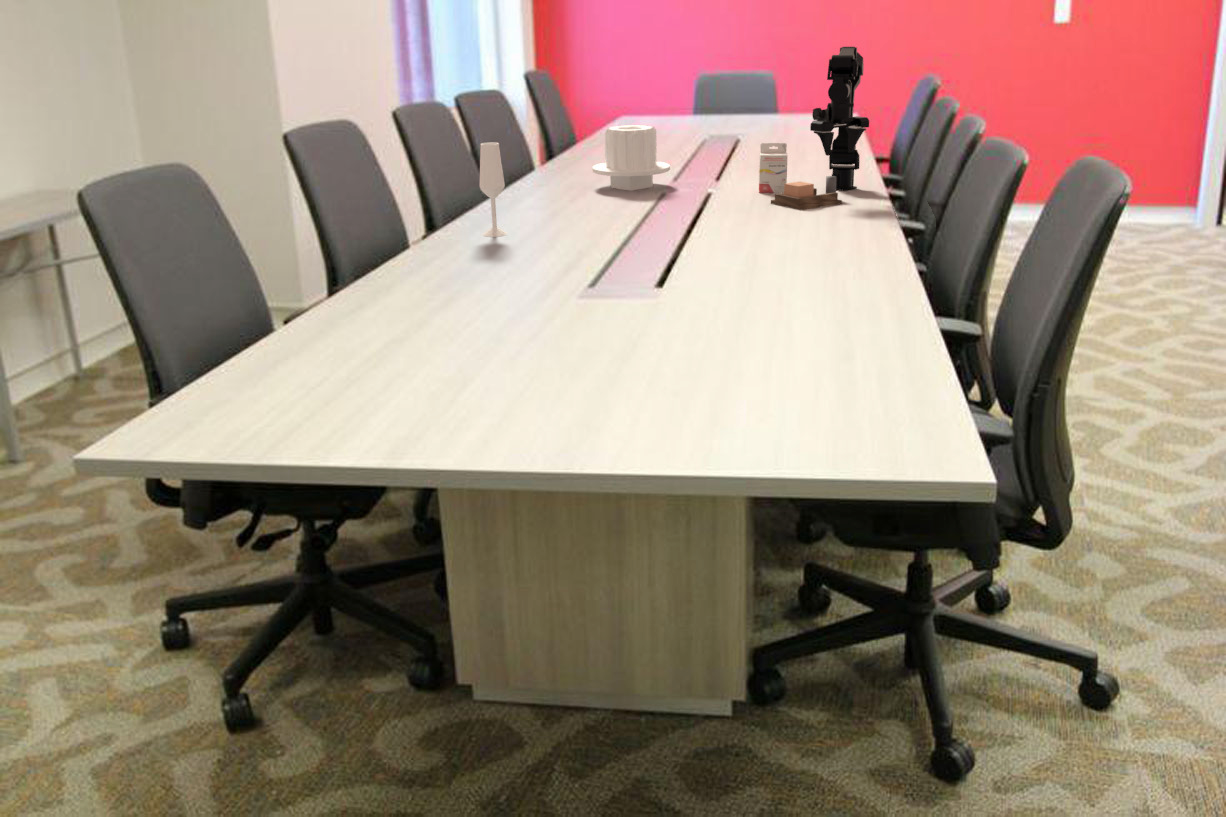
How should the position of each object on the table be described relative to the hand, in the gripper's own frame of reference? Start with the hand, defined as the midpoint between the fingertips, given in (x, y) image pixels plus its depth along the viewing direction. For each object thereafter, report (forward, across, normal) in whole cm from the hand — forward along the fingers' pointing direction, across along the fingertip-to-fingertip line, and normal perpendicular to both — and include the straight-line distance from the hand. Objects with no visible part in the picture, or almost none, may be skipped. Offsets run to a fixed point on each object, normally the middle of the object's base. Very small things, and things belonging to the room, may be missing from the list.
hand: (838, 154), depth 347 cm
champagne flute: (+14, +104, -23) cm, 107 cm away
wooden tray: (+13, +11, -1) cm, 18 cm away
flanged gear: (+13, +34, -59) cm, 69 cm away
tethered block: (+13, +9, -1) cm, 16 cm away
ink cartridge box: (+13, +6, -22) cm, 27 cm away
